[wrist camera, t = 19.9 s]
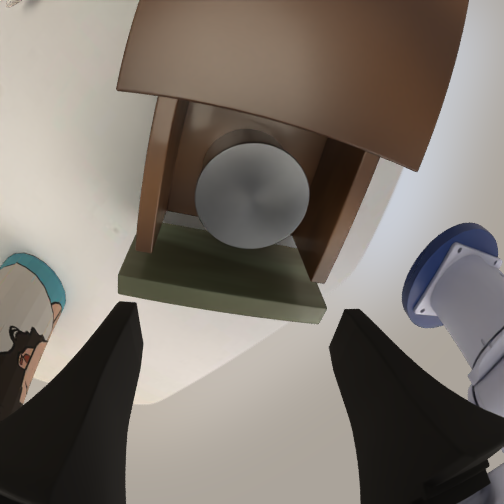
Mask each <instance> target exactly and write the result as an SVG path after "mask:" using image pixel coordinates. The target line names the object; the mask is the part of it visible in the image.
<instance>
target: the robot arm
mask: <svg viewBox="0 0 504 504" xmlns="http://www.w3.org/2000/svg"><path fill="white" fill-rule="evenodd" d="M501 265H502V260H501V259H500V258H497V257H495V256H492V255H490V254H487V253H485V252H482V251H479V250H477V249H474V248H471V247H469V246H466V245H463V244H460V243H458V242H455V243H453V244H452V246H451V247H450V249H449V251H448V253H447V255H446V256H445V258H444V260H443V262H442V263H441V265H440V267H439V269H438V270H437V272H436V274H435V275H434V277H433V279H432V280H431V282H430V284H429V285H428V287H427V288H426V290H425V292H424V293H423V295H422V296H421V298H420V300H419V301H418V303H417V304H416V306H415V307H414V309H413V311H414V312H415V314H421V315H432V316H438V317H439V319H440V320H441V322H442V323H443V325H444V326H445V327H446V329H447V331H448V332H449V334H450V335H451V337H452V338H453V340H454V341H455V343H456V344H457V346H458V347H459V349H460V351H461V352H462V354H463V355H464V357H465V359H466V360H467V362H468V363H469V365H470V367H471V368H472V371H471V372H470V373H469V374H468V378H469V379H470V381H471V383H472V384H471V385H470V387H469V389H468V400H466V399H464V398H462V397H461V396H459V395H458V394H456V393H454V392H453V391H451V390H450V389H448V388H447V387H445V386H444V385H442V384H441V383H440V382H438V381H437V380H436V379H434V378H433V377H432V376H431V375H429V374H428V373H427V372H425V371H424V370H423V369H422V368H421V367H420V366H418V365H417V364H416V363H415V362H414V361H413V360H412V359H411V358H409V357H408V356H407V355H406V354H405V353H404V352H403V351H402V350H401V349H400V348H399V347H398V346H397V345H396V344H395V343H394V342H393V341H392V340H391V339H390V338H389V337H388V336H387V335H386V334H385V333H384V332H383V331H382V330H380V328H379V327H378V326H377V325H376V324H374V322H373V321H372V320H371V319H370V318H369V317H367V316H366V315H365V314H364V313H363V312H362V311H361V310H360V309H345V310H344V312H343V315H342V317H341V320H340V322H339V324H338V327H337V329H336V332H335V334H334V336H333V339H332V341H331V343H330V346H329V350H330V355H331V361H332V366H333V371H334V374H335V377H336V380H337V383H338V386H339V389H340V392H341V395H342V398H343V401H344V404H345V407H346V410H347V413H348V417H349V420H350V423H351V427H352V431H353V437H354V442H355V447H356V454H357V460H358V469H359V480H360V495H361V496H360V500H361V504H504V463H503V464H501V465H500V466H498V467H497V468H495V469H494V470H492V471H491V472H489V473H487V472H486V468H488V467H489V463H488V460H487V459H488V458H490V457H491V456H492V455H493V454H495V453H496V452H497V451H499V450H500V449H501V450H502V452H503V453H504V274H503V273H502V272H501V271H500V270H499V268H500V266H501ZM142 351H143V339H142V333H141V327H140V322H139V316H138V309H137V303H134V302H122V301H119V302H118V303H117V304H116V305H115V307H114V308H113V309H112V311H111V312H110V313H109V315H108V316H107V317H106V318H105V320H104V321H103V322H102V324H101V325H100V326H99V327H98V329H97V330H96V331H95V332H94V334H93V335H92V336H91V337H90V339H89V340H88V341H87V342H86V344H85V345H84V346H83V347H82V348H81V350H80V351H79V352H78V353H77V354H76V355H75V356H74V357H73V359H72V360H71V361H70V362H69V363H68V364H67V365H66V366H65V367H64V368H63V369H62V371H61V372H60V373H59V374H58V375H57V376H56V377H55V378H54V379H53V380H52V381H51V382H49V383H48V385H46V387H44V388H43V389H42V390H41V391H40V392H38V393H37V394H36V395H35V396H34V397H33V398H32V399H30V400H29V401H28V402H27V403H25V404H24V405H23V406H21V407H20V408H19V409H17V410H16V411H15V412H13V413H12V414H11V415H9V416H8V417H6V418H5V419H4V420H2V421H1V422H0V504H126V491H125V465H126V444H127V432H128V425H129V419H130V414H131V410H132V405H133V400H134V396H135V391H136V387H137V382H138V378H139V373H140V368H141V360H142Z"/></svg>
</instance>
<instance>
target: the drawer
mask: <svg viewBox="0 0 504 504" xmlns="http://www.w3.org/2000/svg"><path fill="white" fill-rule="evenodd" d="M240 129H253V130H258V131H261V132H264V133H266V134H268V135H270V136H271V137H273V138H274V139H275V140H276V141H278V142H279V144H280V145H281V146H282V147H283V148H284V150H285V151H287V152H288V153H290V154H291V155H292V156H293V157H294V158H295V159H296V160H297V162H298V163H299V164H300V165H301V167H302V168H303V170H304V172H305V174H306V177H307V180H308V183H309V190H310V196H309V204H308V208H307V211H306V214H305V216H304V218H303V220H302V221H301V223H300V224H299V226H298V227H297V228H296V229H295V230H294V231H293V232H292V233H291V234H290V235H291V236H292V237H293V239H294V241H295V244H296V246H297V248H292V247H287V246H282V245H277V244H273V245H270V246H267V247H263V248H257V249H243V248H237V247H233V246H230V245H227V244H225V243H223V242H221V241H219V240H218V239H216V238H215V237H214V236H212V235H211V234H210V233H209V232H208V231H205V230H200V229H195V228H190V227H184V226H179V225H174V224H168V223H163V220H164V217H165V214H166V212H167V211H171V212H177V213H182V214H187V215H192V216H198V214H197V211H196V207H195V188H196V184H197V180H198V177H199V175H200V173H201V170H202V166H203V161H204V158H205V155H206V153H207V151H208V150H209V148H210V147H211V146H212V144H213V143H214V142H215V141H216V140H217V139H219V138H220V137H222V136H223V135H225V134H227V133H229V132H232V131H235V130H240ZM379 158H380V157H379V156H377V155H374V154H372V153H369V152H367V151H364V150H361V149H359V148H356V147H353V146H351V145H348V144H345V143H342V142H339V141H337V140H334V139H331V138H328V137H325V136H322V135H319V134H316V133H313V132H310V131H306V130H303V129H300V128H297V127H293V126H290V125H287V124H283V123H280V122H276V121H272V120H269V119H265V118H261V117H257V116H254V115H250V114H246V113H241V112H237V111H233V110H229V109H224V108H220V107H215V106H210V105H205V104H200V103H195V102H190V101H184V100H179V99H173V98H167V97H160V96H158V98H157V102H156V107H155V112H154V117H153V122H152V127H151V132H150V138H149V143H148V149H147V155H146V161H145V168H144V174H143V181H142V189H141V196H140V204H139V213H138V222H137V233H136V235H135V237H134V240H133V242H132V244H131V246H130V248H129V251H128V253H127V255H126V258H125V260H124V262H123V264H122V267H121V269H120V271H119V274H118V294H122V295H127V296H132V297H137V298H142V299H147V300H153V301H158V302H164V303H169V304H175V305H181V306H186V307H192V308H199V309H205V310H211V311H218V312H224V313H231V314H238V315H245V316H252V317H260V318H268V319H276V320H284V321H292V322H301V323H311V324H319V323H320V321H321V319H322V317H323V315H324V314H325V312H326V310H327V307H326V304H325V302H324V299H323V297H322V294H321V292H320V289H319V287H318V285H317V283H322V284H324V283H325V282H326V280H327V278H328V276H329V273H330V271H331V269H332V267H333V265H334V263H335V261H336V259H337V257H338V254H339V252H340V250H341V248H342V246H343V244H344V241H345V239H346V237H347V235H348V233H349V230H350V228H351V226H352V224H353V221H354V219H355V217H356V214H357V212H358V210H359V208H360V205H361V203H362V200H363V198H364V196H365V193H366V191H367V188H368V186H369V184H370V181H371V179H372V176H373V174H374V171H375V169H376V166H377V164H378V161H379Z"/></svg>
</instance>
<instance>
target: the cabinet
mask: <svg viewBox="0 0 504 504" xmlns="http://www.w3.org/2000/svg"><path fill="white" fill-rule="evenodd" d="M468 2H469V0H139V3H138V6H137V9H136V12H135V16H134V19H133V22H132V26H131V29H130V33H129V36H128V40H127V44H126V47H125V51H124V55H123V60H122V64H121V68H120V73H119V77H118V82H117V87H116V90H117V91H122V92H131V93H139V94H146V95H153V96H160V97H167V98H173V99H179V100H184V101H190V102H195V103H200V104H205V105H210V106H215V107H220V108H224V109H229V110H233V111H237V112H241V113H246V114H250V115H254V116H257V117H261V118H265V119H269V120H272V121H276V122H280V123H283V124H287V125H290V126H293V127H297V128H300V129H303V130H306V131H310V132H313V133H316V134H319V135H322V136H325V137H328V138H331V139H334V140H337V141H339V142H342V143H345V144H348V145H351V146H353V147H356V148H359V149H361V150H364V151H367V152H369V153H372V154H374V155H377V156H379V157H382V158H384V159H387V160H389V161H392V162H394V163H396V164H399V165H401V166H403V167H406V168H408V169H410V170H412V171H415V172H417V171H418V170H419V167H420V165H421V162H422V160H423V157H424V155H425V152H426V150H427V147H428V144H429V142H430V139H431V136H432V133H433V131H434V128H435V125H436V122H437V119H438V116H439V114H440V111H441V108H442V105H443V102H444V99H445V95H446V92H447V89H448V86H449V82H450V79H451V75H452V72H453V68H454V65H455V61H456V57H457V53H458V50H459V45H460V41H461V37H462V33H463V28H464V24H465V19H466V14H467V8H468Z"/></svg>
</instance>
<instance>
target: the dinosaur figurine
mask: <svg viewBox="0 0 504 504" xmlns="http://www.w3.org/2000/svg"><path fill="white" fill-rule="evenodd" d="M20 1H22V0H8V1H7V3H6V7H12V6H14V5H15V4H17V3H19V2H20Z"/></svg>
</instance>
